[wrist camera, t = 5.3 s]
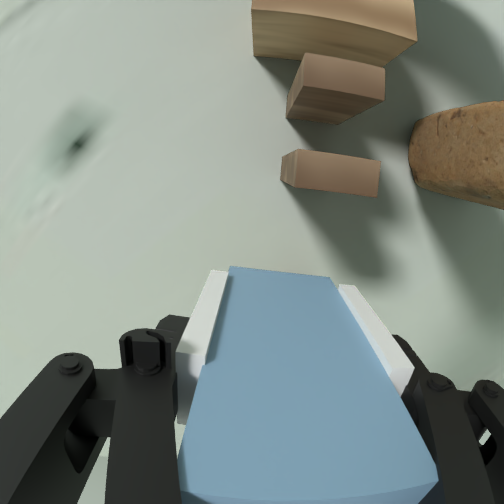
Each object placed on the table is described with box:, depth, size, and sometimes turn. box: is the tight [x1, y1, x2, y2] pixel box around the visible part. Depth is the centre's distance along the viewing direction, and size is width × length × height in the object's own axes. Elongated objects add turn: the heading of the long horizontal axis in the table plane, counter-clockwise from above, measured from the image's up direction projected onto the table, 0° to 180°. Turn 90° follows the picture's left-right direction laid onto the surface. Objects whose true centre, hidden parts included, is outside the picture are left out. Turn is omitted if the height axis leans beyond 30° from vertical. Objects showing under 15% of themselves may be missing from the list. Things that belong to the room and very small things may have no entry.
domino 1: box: [286, 53, 385, 125], centre depth 21 cm, size 2×5×12 cm, turn 85°
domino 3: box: [177, 266, 439, 504], centre depth 10 cm, size 2×5×12 cm, turn 83°
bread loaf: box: [408, 100, 504, 210], centre depth 18 cm, size 11×8×20 cm
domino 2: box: [280, 149, 381, 198], centre depth 23 cm, size 2×5×12 cm, turn 85°
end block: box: [251, 0, 417, 68], centre depth 20 cm, size 6×12×10 cm, turn 85°
